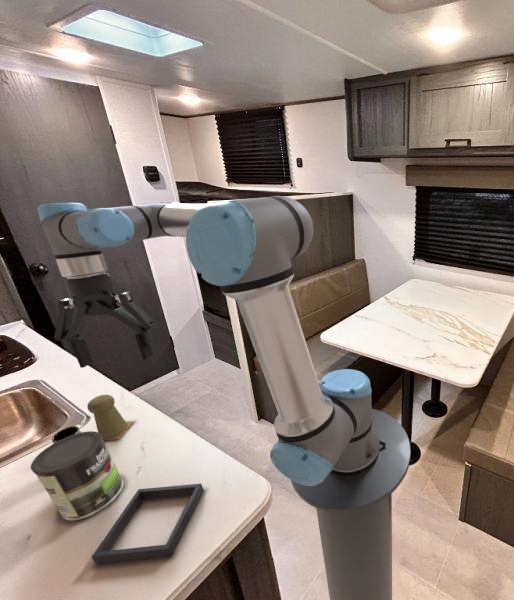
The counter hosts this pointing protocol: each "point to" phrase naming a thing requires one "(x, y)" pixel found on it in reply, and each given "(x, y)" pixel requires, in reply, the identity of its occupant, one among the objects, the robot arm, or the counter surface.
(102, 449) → the coffee can
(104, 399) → the pepper shaker
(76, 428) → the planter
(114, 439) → the coaster
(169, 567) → the counter surface
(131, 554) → the open rectangular frame
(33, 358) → the counter surface
